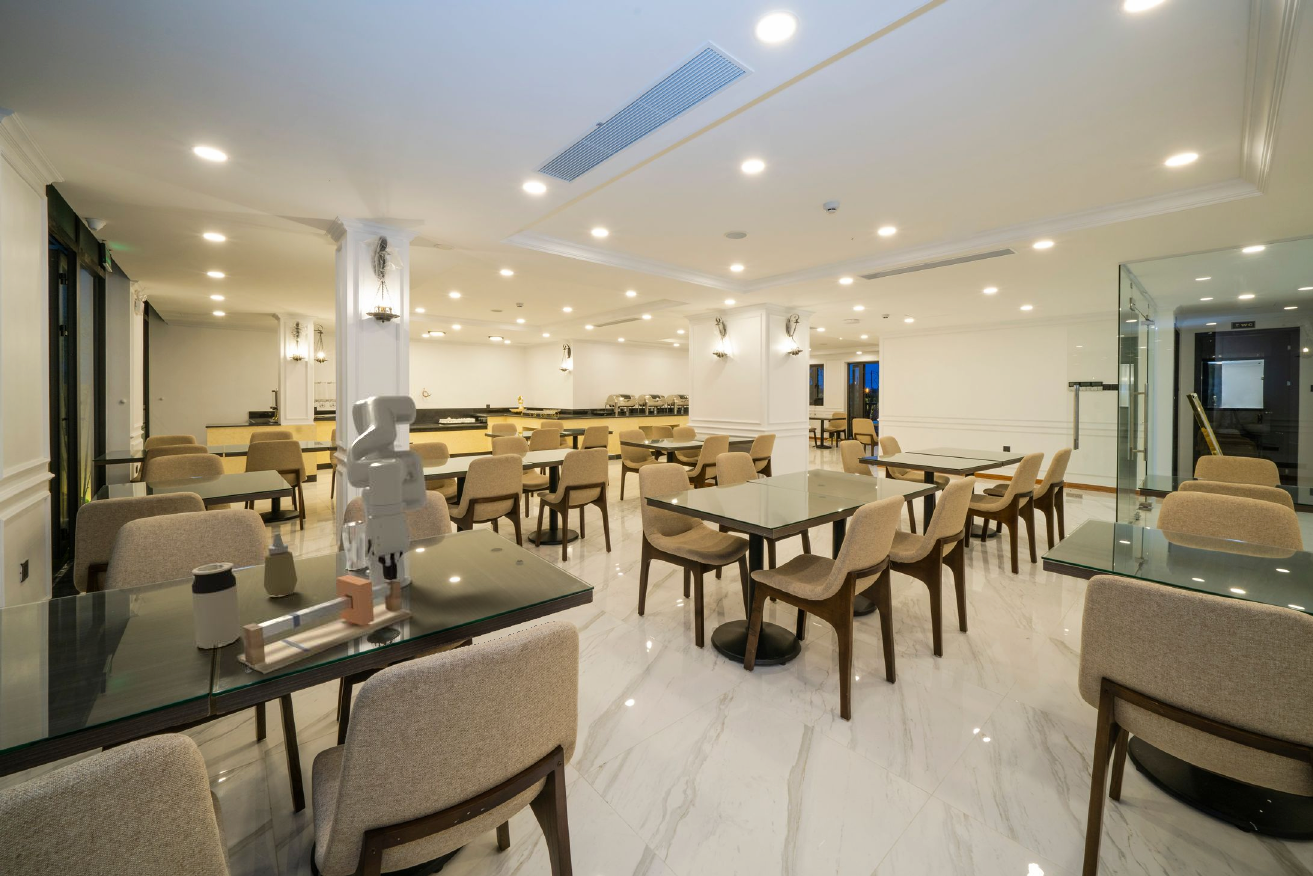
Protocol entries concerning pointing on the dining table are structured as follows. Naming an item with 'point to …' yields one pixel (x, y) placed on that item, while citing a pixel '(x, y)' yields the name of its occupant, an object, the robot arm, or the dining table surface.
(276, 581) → the squeeze bottle
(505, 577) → the dining table surface
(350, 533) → the beer glass
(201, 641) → the travel mug
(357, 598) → the collar
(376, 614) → the pipe stand
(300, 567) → the dining table surface
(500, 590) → the dining table surface
